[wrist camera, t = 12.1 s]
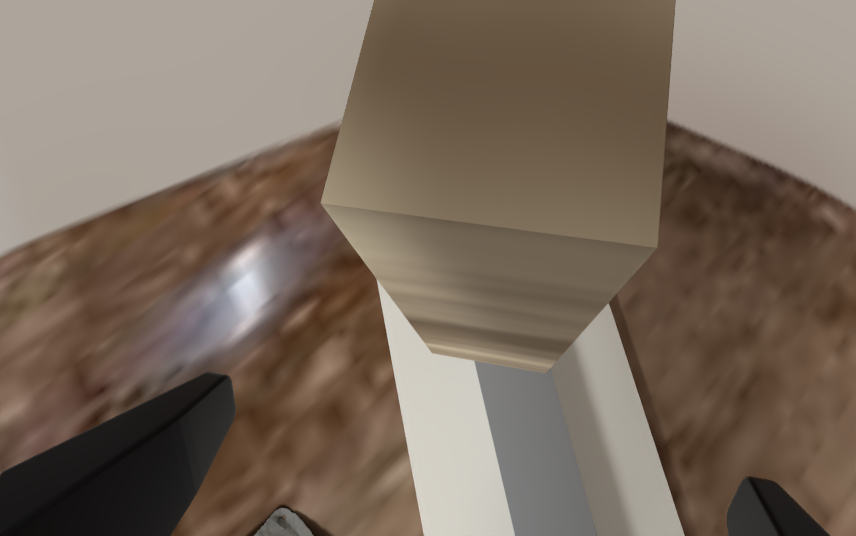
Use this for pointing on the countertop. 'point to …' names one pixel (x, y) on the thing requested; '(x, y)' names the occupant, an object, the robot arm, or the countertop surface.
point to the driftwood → (284, 525)
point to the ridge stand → (529, 441)
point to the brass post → (505, 165)
